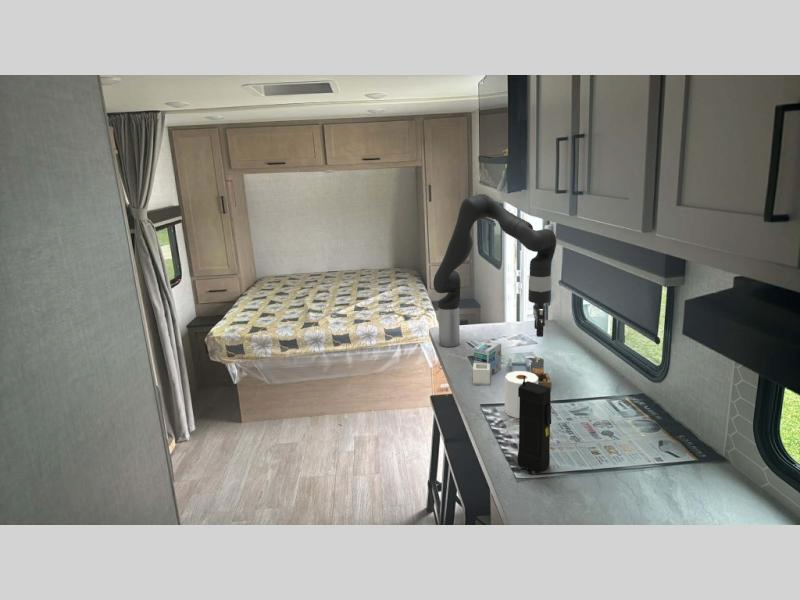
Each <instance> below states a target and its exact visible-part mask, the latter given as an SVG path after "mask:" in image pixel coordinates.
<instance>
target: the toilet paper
mask: <svg viewBox="0 0 800 600" xmlns="http://www.w3.org/2000/svg"><path fill="white" fill-rule="evenodd" d="M523 376H525V382H527V381H529V382H533V383H536V384H538V377H537V376H536V375H535V374H533V373H530V372H526V371H514V372H510V373H507V372H506V374H505V376H504V412H505V413H506V414H507V416H509V417H511V418H512V417H513V418H515V419H519V408H520V397H518V388H519V386H520V385H521V384H523V382H524V377H523Z"/></svg>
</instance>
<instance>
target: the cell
mask: <svg viewBox="0 0 800 600" xmlns="http://www.w3.org/2000/svg"><path fill="white" fill-rule="evenodd" d="M531 361H532V373H533V374H535V375H536V376H537V377H538V381H542V382H543V375H544V372H545V371H544V370H545V367H544V366H545V362H544V361H545V359H544V358H541V357H533V358H532V359H531Z"/></svg>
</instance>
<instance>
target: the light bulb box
mask: <svg viewBox="0 0 800 600" xmlns="http://www.w3.org/2000/svg"><path fill="white" fill-rule="evenodd" d="M473 363H484V364H490V377H491V376H493V375H494V374H496V373H497V372H499V371H500V370H501V369H502V343H501V342H497V341H490V340H485V341H483V342H481V343H480V344H479V345H476V346H475V347H473Z"/></svg>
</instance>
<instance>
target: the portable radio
mask: <svg viewBox="0 0 800 600" xmlns="http://www.w3.org/2000/svg"><path fill="white" fill-rule="evenodd" d="M523 377H524V382H523V384H521V385H520V386H519V388H518V397H520V408H519V418H518V419H519V420H518V421H519V422H518V423H519V424H518V427H519V428H518V429H519V430H518V451H517V466H519V465H520V466H519V467H522V466H523V467H522V468H524V467H525V468H524V469H526V468H528V469H527V470H529V471H531V472H533V471H534V472H533V473H535V474H539V473H542V472H543V471H544V470H545V469H546V467H547V468H548V467H549V466H550V465H551V461H550V460H551V459H550V457H551V456H550V455H551V454H550V451H551V450H550V448H551V447H550V440H551V439H550V436H551V424H552V405H551V399H552V397H551V392H552V390H551V389H552V387H551V388H549V387H546V386H543V385H539V384H536V383H533V382H529V381H527V382H525V376H523Z"/></svg>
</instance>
